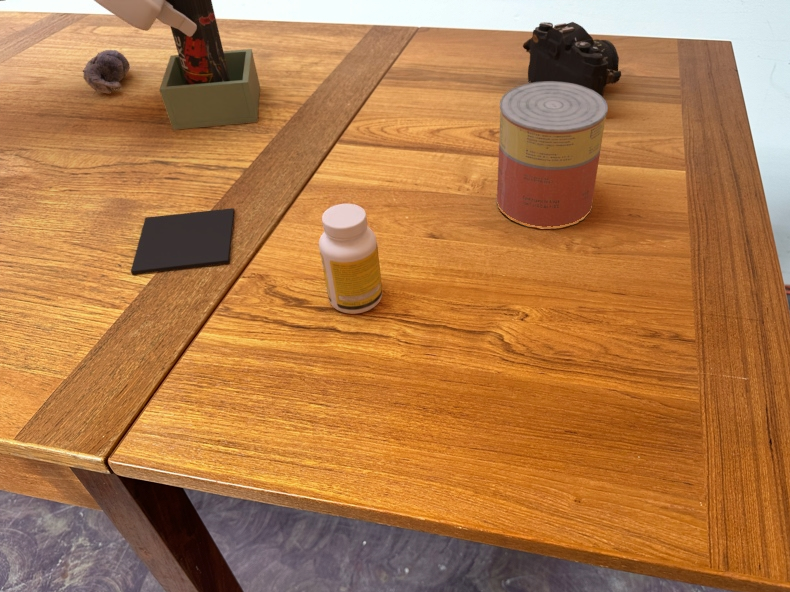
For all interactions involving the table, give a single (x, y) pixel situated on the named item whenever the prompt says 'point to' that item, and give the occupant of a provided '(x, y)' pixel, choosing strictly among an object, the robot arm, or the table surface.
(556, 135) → the canned food
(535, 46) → the film camera
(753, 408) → the table surface
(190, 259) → the pad
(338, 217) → the supplement bottle
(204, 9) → the deodorant
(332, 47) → the table surface
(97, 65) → the grey crumpled cloth
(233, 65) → the bin
